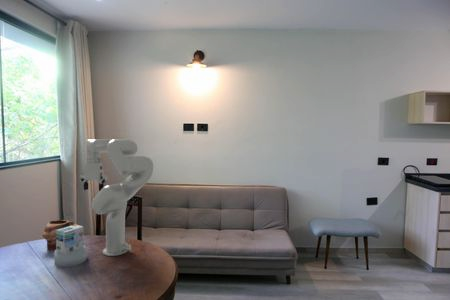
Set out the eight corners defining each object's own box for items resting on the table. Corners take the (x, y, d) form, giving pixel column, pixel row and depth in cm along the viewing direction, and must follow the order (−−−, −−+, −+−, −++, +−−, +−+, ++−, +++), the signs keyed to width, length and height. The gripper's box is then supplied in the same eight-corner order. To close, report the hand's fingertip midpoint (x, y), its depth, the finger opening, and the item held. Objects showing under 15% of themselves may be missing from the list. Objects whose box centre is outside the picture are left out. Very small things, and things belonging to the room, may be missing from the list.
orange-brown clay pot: (63, 238, 173) (63, 215, 172) (81, 240, 171) (81, 217, 170) (35, 251, 153) (35, 225, 152) (56, 253, 151) (56, 227, 150)
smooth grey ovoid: (92, 258, 147) (92, 247, 147) (68, 270, 134) (68, 257, 134) (73, 253, 153) (73, 242, 152) (47, 264, 140) (47, 252, 139)
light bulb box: (64, 254, 137) (64, 232, 137) (55, 251, 140) (55, 229, 140) (84, 247, 147) (84, 226, 146) (75, 244, 150) (75, 224, 149)
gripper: (110, 160, 169) (110, 189, 170) (84, 159, 172) (84, 188, 173) (103, 161, 161) (103, 192, 162) (75, 160, 165) (75, 190, 166)
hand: (93, 190), depth 168 cm, fingers open, 9 cm apart
